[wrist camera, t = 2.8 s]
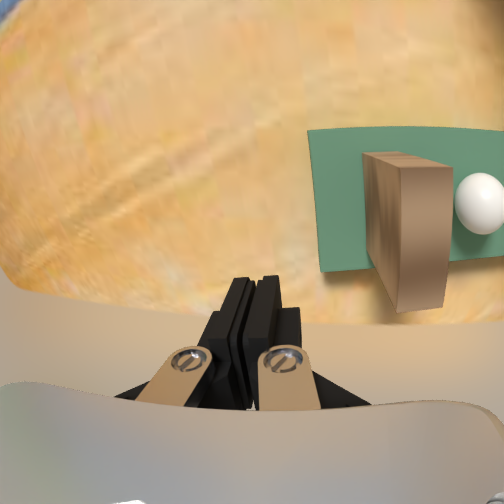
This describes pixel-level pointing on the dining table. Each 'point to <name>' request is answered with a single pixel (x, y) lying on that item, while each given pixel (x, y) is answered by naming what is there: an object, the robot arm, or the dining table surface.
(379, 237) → the upright wooden plank
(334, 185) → the putting mat
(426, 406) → the robot arm
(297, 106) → the dining table surface
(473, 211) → the ball
